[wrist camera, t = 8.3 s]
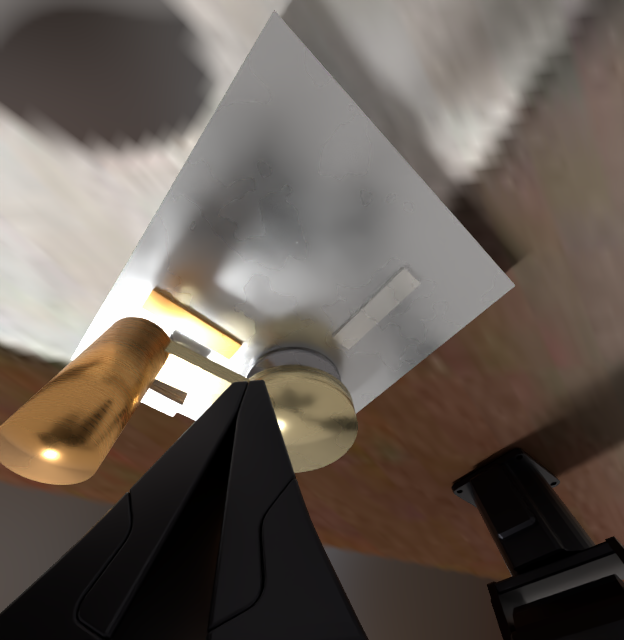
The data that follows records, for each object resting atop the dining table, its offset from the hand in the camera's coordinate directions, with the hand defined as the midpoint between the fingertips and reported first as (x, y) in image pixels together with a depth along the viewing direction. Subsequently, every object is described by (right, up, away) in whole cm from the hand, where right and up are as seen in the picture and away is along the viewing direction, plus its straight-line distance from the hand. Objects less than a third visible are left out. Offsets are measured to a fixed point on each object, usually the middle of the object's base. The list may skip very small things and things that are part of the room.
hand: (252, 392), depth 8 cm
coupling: (-2, -1, +7) cm, 7 cm away
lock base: (0, +2, +8) cm, 9 cm away
